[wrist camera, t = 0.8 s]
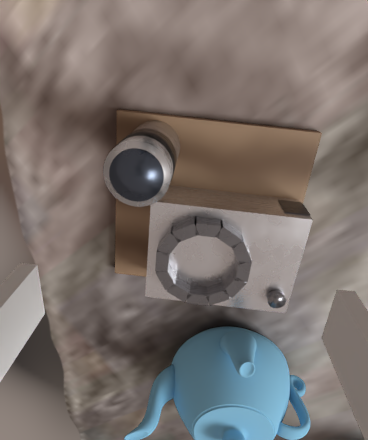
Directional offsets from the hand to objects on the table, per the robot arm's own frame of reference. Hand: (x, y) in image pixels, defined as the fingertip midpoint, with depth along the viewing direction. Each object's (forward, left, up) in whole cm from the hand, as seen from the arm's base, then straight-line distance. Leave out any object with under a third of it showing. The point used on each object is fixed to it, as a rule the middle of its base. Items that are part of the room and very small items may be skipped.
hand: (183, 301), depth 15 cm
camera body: (+8, +4, -21) cm, 23 cm away
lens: (-2, -4, -21) cm, 22 cm away
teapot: (+28, +7, -23) cm, 36 cm away
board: (+5, +2, -23) cm, 23 cm away
